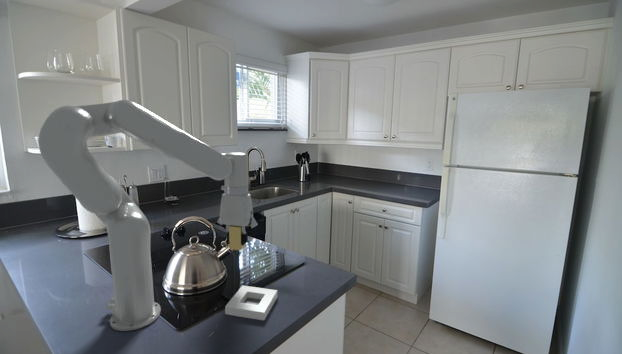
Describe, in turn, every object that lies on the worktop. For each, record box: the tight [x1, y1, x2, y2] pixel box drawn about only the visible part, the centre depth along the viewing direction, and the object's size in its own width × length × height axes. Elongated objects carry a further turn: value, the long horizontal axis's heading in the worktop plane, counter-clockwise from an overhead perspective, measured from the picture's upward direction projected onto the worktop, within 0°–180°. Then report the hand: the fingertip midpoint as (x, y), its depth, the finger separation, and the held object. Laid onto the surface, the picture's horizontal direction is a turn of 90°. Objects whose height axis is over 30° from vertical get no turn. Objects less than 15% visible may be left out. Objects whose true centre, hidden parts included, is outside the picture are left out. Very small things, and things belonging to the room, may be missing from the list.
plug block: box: [228, 225, 247, 251], centre depth 103 cm, size 4×4×8 cm
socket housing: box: [224, 284, 278, 321], centre depth 94 cm, size 12×12×2 cm
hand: (237, 242), depth 103 cm, fingers closed on plug block, 4 cm apart
